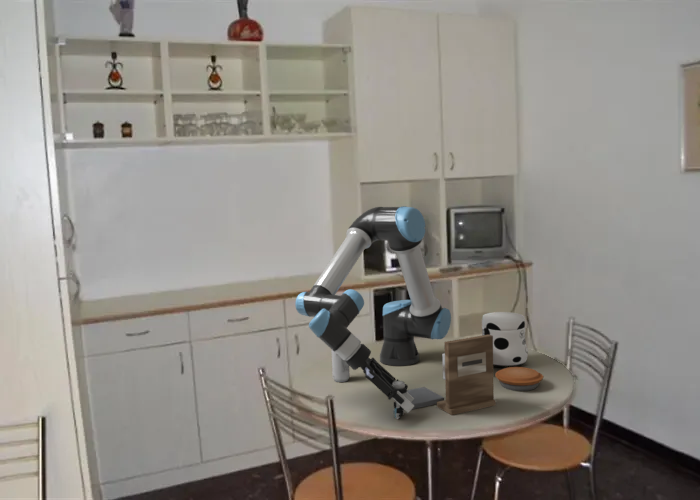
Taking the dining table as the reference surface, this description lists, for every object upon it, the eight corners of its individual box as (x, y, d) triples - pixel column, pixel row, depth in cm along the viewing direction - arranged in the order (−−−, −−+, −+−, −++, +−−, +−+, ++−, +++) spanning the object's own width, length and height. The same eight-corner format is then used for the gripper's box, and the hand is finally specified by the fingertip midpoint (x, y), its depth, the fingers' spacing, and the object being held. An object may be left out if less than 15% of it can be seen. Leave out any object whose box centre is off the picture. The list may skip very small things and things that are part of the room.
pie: (515, 396, 199) (515, 381, 198) (486, 382, 213) (485, 368, 213) (553, 388, 205) (553, 373, 205) (522, 375, 219) (522, 361, 219)
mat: (392, 397, 202) (392, 393, 202) (424, 391, 207) (424, 386, 207) (411, 409, 191) (410, 404, 191) (444, 402, 196) (444, 397, 196)
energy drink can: (339, 376, 226) (337, 335, 224) (353, 378, 222) (351, 337, 221) (329, 381, 221) (327, 339, 219) (343, 383, 218) (341, 341, 216)
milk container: (537, 364, 231) (537, 316, 229) (505, 373, 222) (505, 323, 220) (502, 354, 245) (501, 309, 243) (470, 363, 236) (469, 316, 234)
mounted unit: (434, 405, 194) (432, 337, 192) (477, 395, 200) (475, 330, 198) (451, 415, 185) (450, 344, 183) (495, 405, 192) (494, 336, 189)
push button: (405, 421, 182) (405, 388, 180) (387, 419, 183) (387, 387, 181) (409, 411, 188) (408, 380, 187) (391, 410, 190) (391, 378, 188)
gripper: (347, 352, 194) (402, 403, 195) (341, 370, 176) (402, 426, 177) (363, 335, 193) (418, 386, 194) (360, 351, 175) (420, 408, 176)
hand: (410, 405), depth 185 cm, fingers closed on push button, 5 cm apart
